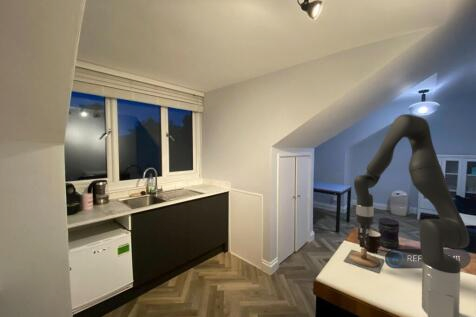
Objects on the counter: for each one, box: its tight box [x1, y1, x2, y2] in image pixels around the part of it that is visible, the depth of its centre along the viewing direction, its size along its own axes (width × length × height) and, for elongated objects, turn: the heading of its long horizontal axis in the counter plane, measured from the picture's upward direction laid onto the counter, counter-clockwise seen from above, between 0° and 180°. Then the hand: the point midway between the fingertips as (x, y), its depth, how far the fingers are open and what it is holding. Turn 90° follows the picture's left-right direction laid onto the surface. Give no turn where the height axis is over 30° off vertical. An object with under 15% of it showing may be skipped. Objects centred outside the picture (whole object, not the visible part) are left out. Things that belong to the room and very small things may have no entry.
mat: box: [343, 249, 385, 274], centre depth 103 cm, size 15×15×1 cm
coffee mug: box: [363, 229, 381, 254], centre depth 111 cm, size 12×9×10 cm
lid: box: [349, 248, 379, 267], centre depth 103 cm, size 13×13×5 cm
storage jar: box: [377, 217, 400, 251], centre depth 117 cm, size 10×10×15 cm
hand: (364, 244), depth 103 cm, fingers open, 8 cm apart
